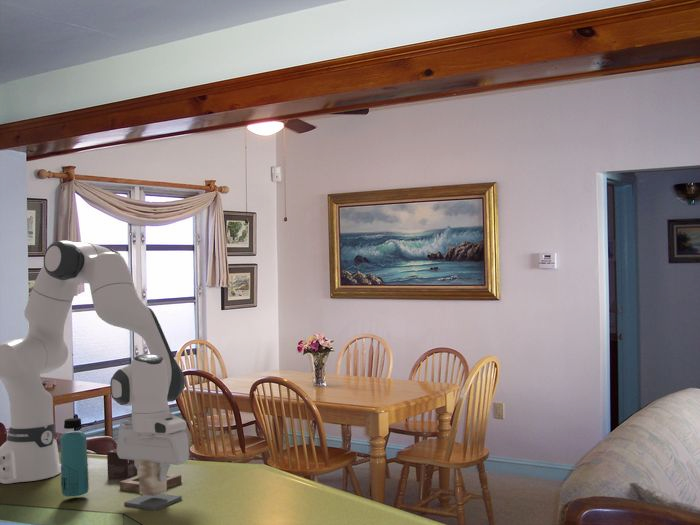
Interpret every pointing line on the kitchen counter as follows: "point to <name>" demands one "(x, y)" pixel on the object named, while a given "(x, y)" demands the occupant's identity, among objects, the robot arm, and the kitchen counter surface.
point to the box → (119, 466)
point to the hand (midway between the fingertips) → (152, 479)
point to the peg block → (150, 478)
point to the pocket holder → (133, 482)
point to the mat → (153, 501)
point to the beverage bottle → (74, 460)
